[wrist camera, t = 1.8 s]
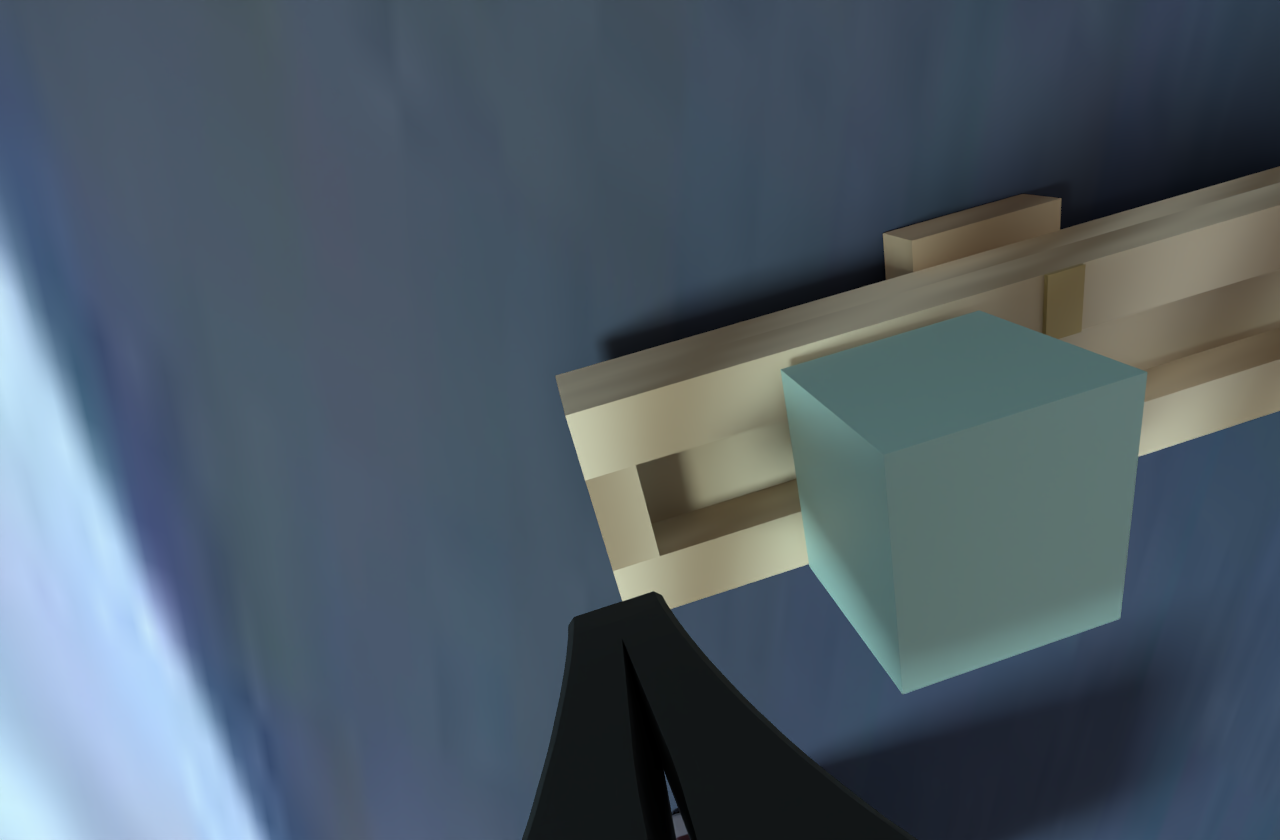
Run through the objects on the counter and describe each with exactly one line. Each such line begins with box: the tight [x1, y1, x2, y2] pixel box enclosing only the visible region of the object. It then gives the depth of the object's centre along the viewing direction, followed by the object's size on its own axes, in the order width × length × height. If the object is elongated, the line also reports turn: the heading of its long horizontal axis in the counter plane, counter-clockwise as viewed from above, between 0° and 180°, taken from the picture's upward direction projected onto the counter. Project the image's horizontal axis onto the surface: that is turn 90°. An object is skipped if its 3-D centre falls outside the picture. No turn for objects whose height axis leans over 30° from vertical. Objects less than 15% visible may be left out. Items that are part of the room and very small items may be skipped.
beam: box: [555, 166, 1280, 609], centre depth 16 cm, size 20×6×4 cm, turn 103°
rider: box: [780, 310, 1147, 694], centre depth 12 cm, size 4×5×5 cm
